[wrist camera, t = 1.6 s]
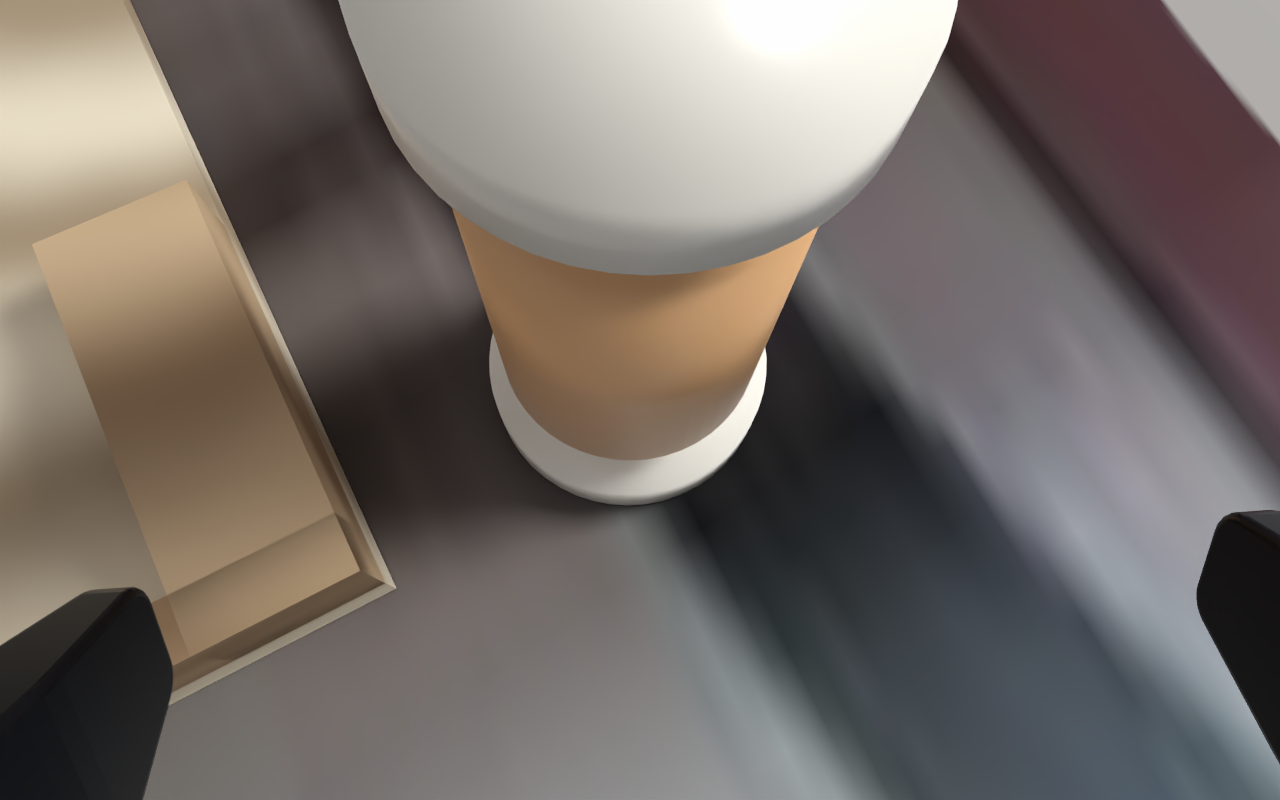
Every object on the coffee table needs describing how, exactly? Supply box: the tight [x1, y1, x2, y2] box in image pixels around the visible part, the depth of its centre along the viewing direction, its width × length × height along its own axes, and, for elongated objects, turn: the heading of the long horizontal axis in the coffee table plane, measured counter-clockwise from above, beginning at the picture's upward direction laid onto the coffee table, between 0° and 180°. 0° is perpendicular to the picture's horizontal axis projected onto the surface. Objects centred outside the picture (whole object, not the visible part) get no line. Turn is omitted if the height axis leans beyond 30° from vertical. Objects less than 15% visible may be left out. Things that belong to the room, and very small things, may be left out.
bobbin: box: [339, 0, 958, 505], centre depth 15 cm, size 6×6×13 cm
